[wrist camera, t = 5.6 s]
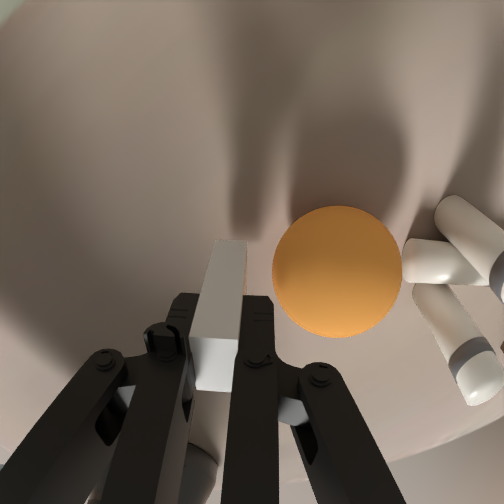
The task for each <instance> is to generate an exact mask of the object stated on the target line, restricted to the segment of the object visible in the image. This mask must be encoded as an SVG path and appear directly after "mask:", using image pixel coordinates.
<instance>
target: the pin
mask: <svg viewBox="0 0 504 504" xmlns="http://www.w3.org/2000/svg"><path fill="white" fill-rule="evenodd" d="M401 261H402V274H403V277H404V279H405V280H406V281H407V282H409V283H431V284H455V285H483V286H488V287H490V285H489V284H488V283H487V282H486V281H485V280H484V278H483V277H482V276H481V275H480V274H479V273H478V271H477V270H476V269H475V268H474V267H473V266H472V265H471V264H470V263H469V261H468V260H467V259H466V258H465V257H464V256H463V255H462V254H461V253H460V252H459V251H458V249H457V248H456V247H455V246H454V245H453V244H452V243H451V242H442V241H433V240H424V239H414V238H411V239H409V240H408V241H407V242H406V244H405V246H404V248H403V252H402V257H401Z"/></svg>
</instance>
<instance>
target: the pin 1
mask: <svg viewBox="0 0 504 504" xmlns="http://www.w3.org/2000/svg"><path fill="white" fill-rule="evenodd" d="M434 222H435V225H436V227H437V229H438V230H439V231H440V232H441V233H442V234H443V235H444V236H445V237H446V238H447V239H448V240H449V241H450V242H451V243H452V244H453V245H454V246H455V247H456V248H457V249H458V251H459V252H460V253H461V254H462V255H463V256H464V257H465V258H466V259H467V260H468V261H469V263H470V264H471V265H472V266H473V267H474V268H475V269H476V270H477V271H478V273H479V274H480V275H481V276H482V277H483V278H484V280H485V281H486V282H487V283H488V284H489V285H490V288H491V289H492V291H493V292H494V293H495V294H496V296H497V297H498V298H499V299H500V301H501V302H502V303H503V304H504V230H503V229H501V228H500V227H499V226H498V225H497V224H495V223H494V222H493V221H492V220H490V219H489V218H488V217H487V216H485V215H484V214H483V213H481V212H480V211H479V210H477V209H476V208H475V207H474V206H472V205H471V204H469V203H468V202H467V201H465V200H464V199H463V198H461V197H460V196H457V195H450V196H447V197H446V198H444V199H443V200H442V201H441V202H440V203H439V204H438V206H437V208H436V211H435V214H434Z"/></svg>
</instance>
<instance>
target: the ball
mask: <svg viewBox="0 0 504 504" xmlns="http://www.w3.org/2000/svg"><path fill="white" fill-rule="evenodd" d="M272 278H273V285H274V289H275V293H276V296H277V298H278V300H279V302H280V304H281V306H282V308H283V309H284V311H285V312H286V313H287V314H288V316H289V317H290V318H291V319H292V320H293V321H294V322H295V323H297V324H298V325H299V326H301V327H302V328H304V329H305V330H307V331H309V332H312V333H314V334H317V335H320V336H325V337H331V338H343V337H349V336H354V335H357V334H360V333H362V332H364V331H366V330H368V329H370V328H372V327H373V326H375V325H376V324H377V323H378V322H380V321H381V320H382V319H383V318H384V317H385V316H386V314H387V313H388V312H389V311H390V309H391V308H392V306H393V304H394V303H395V301H396V299H397V296H398V293H399V291H400V287H401V282H402V261H401V255H400V252H399V249H398V246H397V244H396V241H395V240H394V238H393V236H392V235H391V233H390V232H389V230H388V229H387V228H386V227H385V226H384V225H383V224H382V223H381V222H380V221H379V220H378V219H377V218H375V217H374V216H372V215H371V214H369V213H367V212H365V211H363V210H360V209H357V208H354V207H349V206H327V207H322V208H318V209H316V210H313V211H311V212H309V213H307V214H305V215H304V216H302V217H301V218H299V219H298V220H296V221H295V222H294V223H293V224H292V225H291V226H290V227H289V228H288V230H287V231H286V232H285V234H284V235H283V236H282V238H281V240H280V242H279V244H278V246H277V249H276V252H275V255H274V259H273V267H272Z"/></svg>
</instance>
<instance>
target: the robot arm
mask: <svg viewBox="0 0 504 504" xmlns="http://www.w3.org/2000/svg"><path fill="white" fill-rule="evenodd" d="M246 278H247V241H239V240H215V243H214V246H213V250H212V253H211V257H210V260H209V264H208V267H207V271H206V275H205V278H204V282H203V285H202V289H201V293H200V294H195V293H180V294H179V295H178V296H177V297H176V298H175V299H174V300H173V302H172V305H171V308H170V310H169V313H168V317H167V319H166V321H165V322H160V323H156V324H153V325H151V326H150V327H148V328H147V329H146V330H145V332H144V333H143V336H144V340H145V344H146V348H147V353H146V354H144V355H140V356H135V357H127V358H124V357H123V356H122V354H121V353H120V352H118V351H117V350H114V349H102V350H99V351H97V352H95V353H94V354H93V355H91V356H90V357H89V359H88V360H87V361H86V362H85V363H84V365H83V366H82V367H81V368H80V369H79V371H78V372H77V373H76V374H75V375H74V377H73V378H72V379H71V380H70V381H69V383H68V384H67V385H66V386H65V387H64V389H63V390H62V391H61V392H60V394H59V395H58V396H57V397H56V399H55V400H54V401H53V402H52V404H51V405H50V406H49V407H48V409H47V410H46V411H45V412H44V414H43V415H42V416H41V417H40V419H39V420H38V421H37V423H36V424H35V425H34V426H33V428H32V429H31V430H30V432H29V433H28V434H27V435H26V437H25V438H24V439H23V441H22V442H21V443H20V445H19V446H18V447H17V449H16V450H15V451H14V453H13V454H12V455H11V457H10V458H9V460H8V461H7V462H6V464H5V465H3V464H0V504H84V503H85V501H86V499H87V498H88V496H89V500H88V503H87V504H205V503H206V501H207V499H208V497H209V495H210V494H211V492H212V489H213V488H214V486H215V483H216V475H217V464H216V462H215V461H214V459H213V458H212V457H211V456H209V455H208V454H207V453H205V452H204V451H202V450H201V449H199V448H197V447H195V446H193V445H191V444H189V443H187V442H188V437H189V431H190V425H191V419H192V414H193V408H194V403H195V401H194V393H193V392H194V387H195V383H196V389H197V390H205V391H218V392H231V401H230V411H229V421H228V431H227V441H226V451H225V462H224V472H223V483H222V493H221V504H279V438H278V421H279V422H283V423H286V424H290V427H291V430H292V433H293V436H294V438H295V441H296V444H297V447H298V450H299V453H300V455H301V458H302V461H303V464H304V467H305V470H306V472H307V475H308V478H309V481H310V484H311V486H312V489H313V492H314V495H315V497H316V500H317V503H318V504H406V502H405V500H404V498H403V496H402V494H401V492H400V490H399V488H398V486H397V484H396V482H395V480H394V478H393V476H392V474H391V472H390V470H389V468H388V466H387V464H386V462H385V460H384V458H383V456H382V454H381V452H380V450H379V448H378V446H377V444H376V442H375V440H374V438H373V436H372V434H371V432H370V430H369V428H368V426H367V424H366V422H365V420H364V419H363V417H362V415H361V413H360V411H359V409H358V407H357V405H356V403H355V401H354V399H353V397H352V395H351V393H350V392H349V390H348V388H347V386H346V384H345V382H344V380H343V378H342V376H341V374H340V373H339V372H338V370H337V369H336V368H335V367H333V366H331V365H330V364H327V363H322V362H314V363H311V364H308V365H306V366H305V367H304V368H302V369H301V368H298V367H294V366H291V365H288V364H286V363H285V362H283V361H282V360H281V359H280V358H279V357H278V356H277V354H276V351H275V335H274V304H273V303H272V301H271V300H270V298H269V297H268V296H253V295H246Z"/></svg>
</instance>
